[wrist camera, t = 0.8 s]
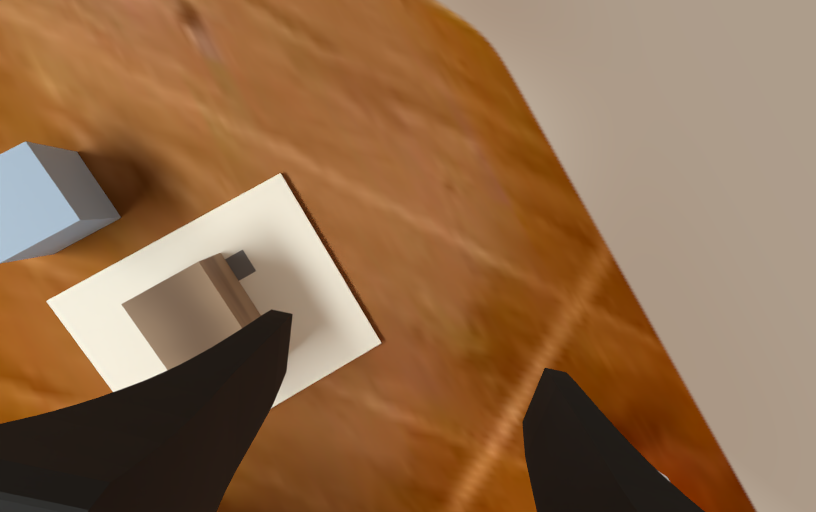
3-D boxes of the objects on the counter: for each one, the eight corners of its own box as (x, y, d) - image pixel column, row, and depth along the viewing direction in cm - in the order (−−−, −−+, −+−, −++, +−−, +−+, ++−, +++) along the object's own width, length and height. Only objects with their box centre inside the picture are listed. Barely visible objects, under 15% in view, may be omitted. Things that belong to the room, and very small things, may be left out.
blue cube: (54, 254, 27) (-1, 263, 23) (7, 188, 26) (-60, 185, 22) (121, 217, 27) (80, 220, 23) (77, 152, 27) (25, 141, 22)
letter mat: (170, 465, 30) (169, 468, 29) (49, 299, 27) (45, 301, 27) (381, 341, 31) (381, 343, 30) (281, 173, 28) (280, 173, 28)
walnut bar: (226, 392, 29) (206, 425, 25) (155, 288, 28) (121, 304, 23) (287, 356, 30) (278, 383, 25) (220, 252, 28) (198, 261, 24)
